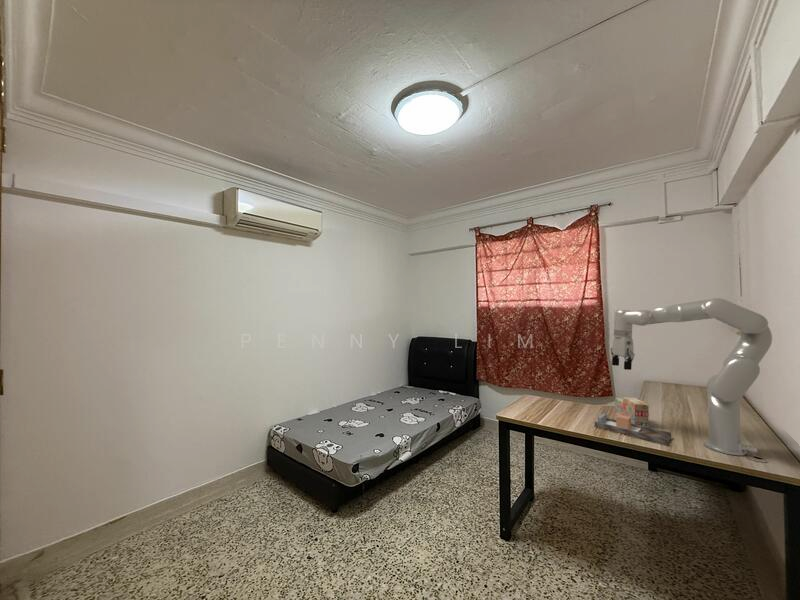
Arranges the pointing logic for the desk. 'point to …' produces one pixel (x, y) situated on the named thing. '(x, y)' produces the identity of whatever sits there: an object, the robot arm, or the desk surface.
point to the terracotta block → (623, 421)
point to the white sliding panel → (603, 419)
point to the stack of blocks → (633, 410)
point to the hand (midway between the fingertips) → (621, 367)
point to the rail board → (644, 434)
